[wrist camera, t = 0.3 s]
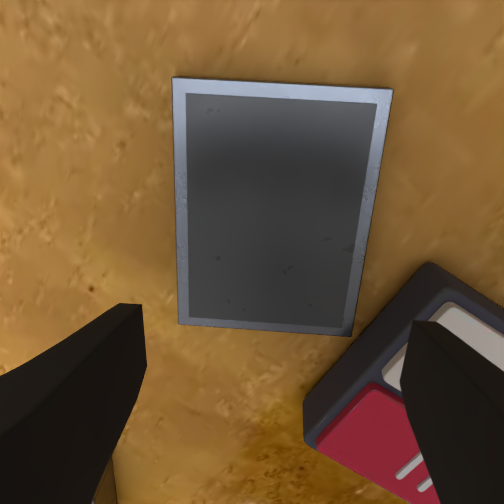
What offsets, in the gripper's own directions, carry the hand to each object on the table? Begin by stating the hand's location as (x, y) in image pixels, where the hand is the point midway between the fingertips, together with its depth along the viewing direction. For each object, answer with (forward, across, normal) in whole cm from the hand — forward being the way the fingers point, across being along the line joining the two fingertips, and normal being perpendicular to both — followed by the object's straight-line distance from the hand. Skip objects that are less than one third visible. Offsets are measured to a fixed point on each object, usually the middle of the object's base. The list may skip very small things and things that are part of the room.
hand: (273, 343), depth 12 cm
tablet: (+10, 0, 0) cm, 10 cm away
